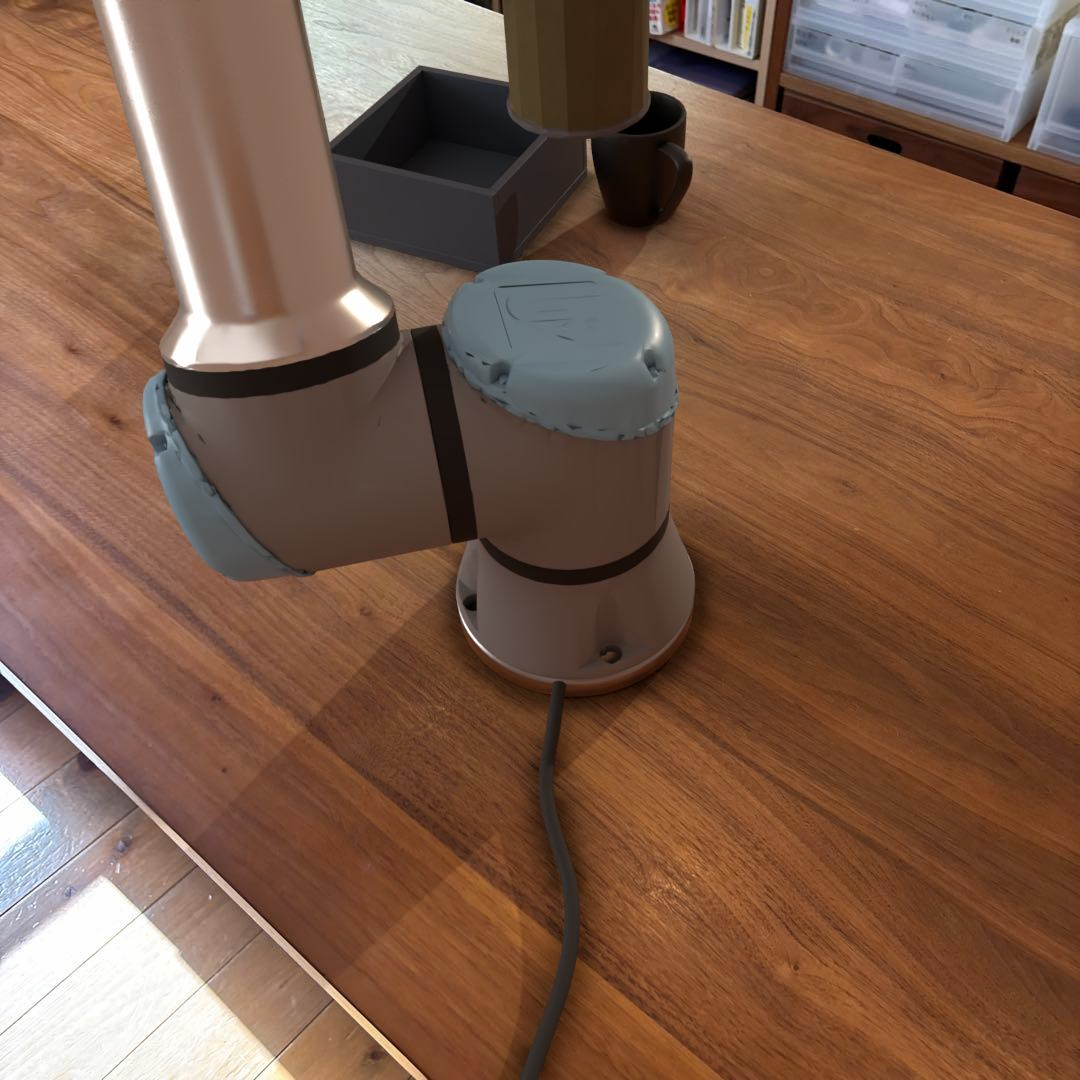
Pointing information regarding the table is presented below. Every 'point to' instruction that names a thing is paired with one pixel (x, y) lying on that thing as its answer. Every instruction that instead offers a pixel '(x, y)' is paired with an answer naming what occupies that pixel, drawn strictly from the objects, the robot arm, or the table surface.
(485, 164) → the basket
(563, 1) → the canister
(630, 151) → the mug
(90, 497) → the table surface
